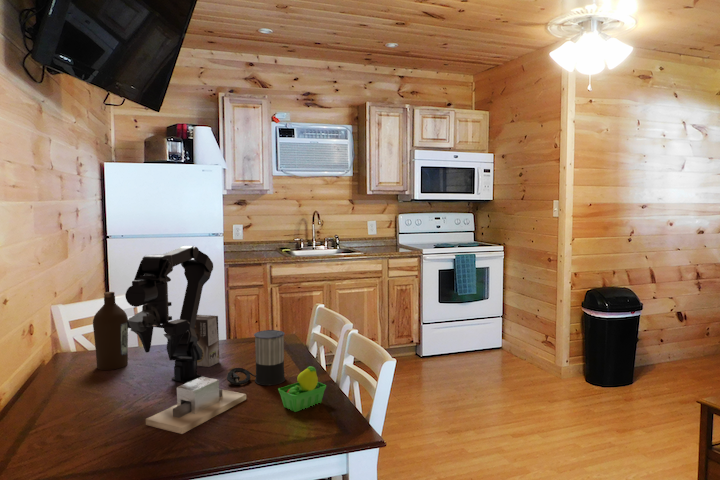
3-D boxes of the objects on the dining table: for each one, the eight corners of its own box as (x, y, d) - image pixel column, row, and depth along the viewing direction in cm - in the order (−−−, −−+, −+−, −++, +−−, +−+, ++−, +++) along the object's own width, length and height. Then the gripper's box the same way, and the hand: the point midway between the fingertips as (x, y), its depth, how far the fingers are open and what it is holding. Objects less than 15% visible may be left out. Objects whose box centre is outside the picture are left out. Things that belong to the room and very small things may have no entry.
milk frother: (291, 380, 161) (290, 333, 159) (247, 394, 149) (246, 343, 148) (264, 370, 171) (263, 325, 170) (221, 382, 160) (220, 334, 158)
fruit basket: (310, 395, 148) (309, 356, 147) (330, 404, 142) (330, 363, 141) (277, 407, 140) (276, 365, 139) (297, 416, 134) (296, 373, 133)
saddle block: (202, 398, 143) (201, 376, 142) (219, 401, 140) (218, 379, 140) (177, 410, 135) (176, 387, 134) (195, 414, 132) (194, 390, 132)
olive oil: (91, 372, 170) (87, 296, 168) (99, 362, 181) (96, 290, 179) (126, 369, 172) (122, 294, 171) (132, 360, 183) (129, 289, 181)
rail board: (212, 392, 151) (212, 380, 151) (246, 399, 146) (246, 387, 145) (145, 424, 129) (145, 411, 129) (182, 434, 124) (181, 419, 124)
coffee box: (220, 361, 180) (219, 315, 179) (209, 367, 174) (207, 319, 173) (198, 359, 183) (196, 313, 182) (186, 365, 177) (184, 317, 176)
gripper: (109, 302, 144) (111, 357, 145) (159, 307, 136) (161, 366, 137) (142, 295, 154) (144, 347, 155) (190, 300, 146) (192, 355, 147)
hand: (159, 354), depth 148 cm, fingers open, 9 cm apart
